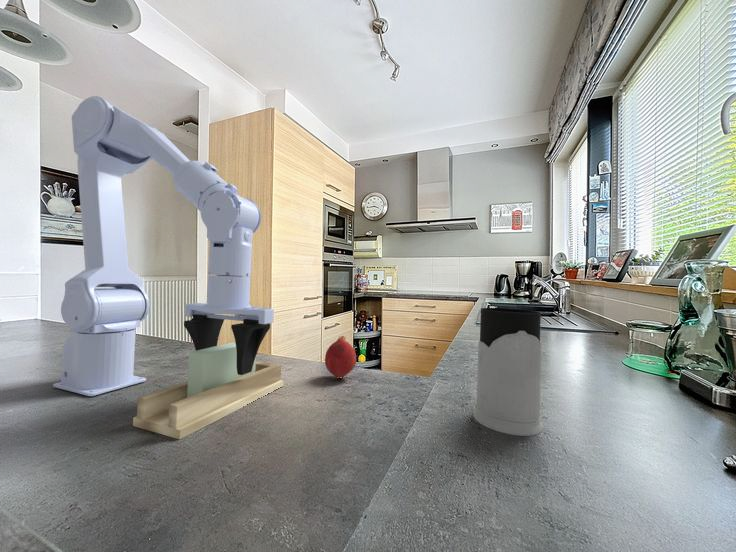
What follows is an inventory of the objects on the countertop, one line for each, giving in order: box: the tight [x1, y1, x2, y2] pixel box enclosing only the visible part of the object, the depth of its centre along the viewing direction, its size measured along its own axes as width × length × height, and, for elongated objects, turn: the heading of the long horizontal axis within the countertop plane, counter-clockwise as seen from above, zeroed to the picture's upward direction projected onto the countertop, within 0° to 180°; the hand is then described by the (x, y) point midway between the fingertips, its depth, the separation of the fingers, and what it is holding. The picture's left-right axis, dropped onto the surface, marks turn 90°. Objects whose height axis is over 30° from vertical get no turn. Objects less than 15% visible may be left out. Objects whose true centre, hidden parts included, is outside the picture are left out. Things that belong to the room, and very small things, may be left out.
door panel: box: [187, 341, 257, 398], centre depth 45 cm, size 2×10×7 cm, turn 160°
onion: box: [324, 334, 357, 378], centre depth 57 cm, size 6×6×8 cm
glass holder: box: [472, 307, 544, 437], centre depth 45 cm, size 9×14×15 cm, turn 177°
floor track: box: [132, 360, 284, 440], centre depth 44 cm, size 8×19×4 cm, turn 160°
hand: (225, 369), depth 45 cm, fingers open, 6 cm apart
